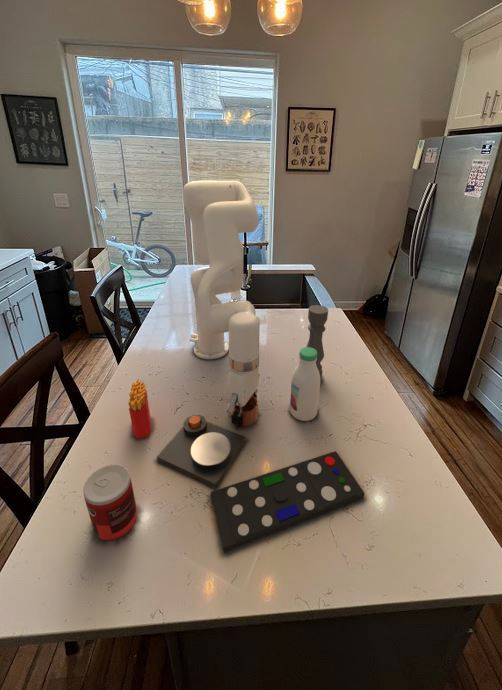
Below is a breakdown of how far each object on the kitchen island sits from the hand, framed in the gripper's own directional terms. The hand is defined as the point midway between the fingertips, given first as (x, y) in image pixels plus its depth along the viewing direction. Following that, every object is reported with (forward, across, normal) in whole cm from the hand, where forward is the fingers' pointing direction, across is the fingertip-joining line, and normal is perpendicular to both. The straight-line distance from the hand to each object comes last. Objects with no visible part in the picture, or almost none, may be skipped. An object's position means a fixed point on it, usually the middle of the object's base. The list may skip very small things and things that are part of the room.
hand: (244, 414), depth 90 cm
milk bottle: (+1, -9, +14) cm, 17 cm away
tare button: (-2, +10, -9) cm, 14 cm away
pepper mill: (+1, -24, +12) cm, 27 cm away
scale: (+1, +14, -4) cm, 15 cm away
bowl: (+1, 0, 0) cm, 1 cm away
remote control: (+1, +16, +19) cm, 25 cm away
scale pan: (-2, +15, -1) cm, 15 cm away
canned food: (+1, +35, -10) cm, 36 cm away
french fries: (+1, +15, -22) cm, 27 cm away
